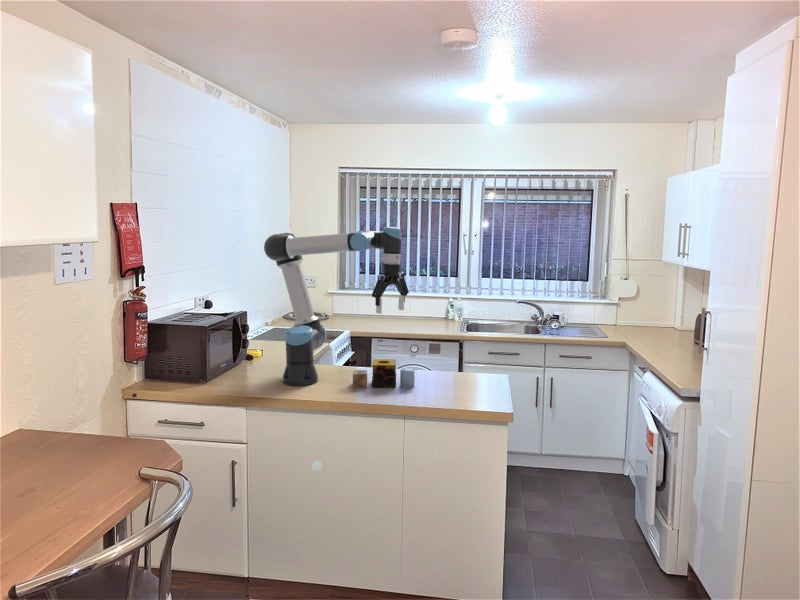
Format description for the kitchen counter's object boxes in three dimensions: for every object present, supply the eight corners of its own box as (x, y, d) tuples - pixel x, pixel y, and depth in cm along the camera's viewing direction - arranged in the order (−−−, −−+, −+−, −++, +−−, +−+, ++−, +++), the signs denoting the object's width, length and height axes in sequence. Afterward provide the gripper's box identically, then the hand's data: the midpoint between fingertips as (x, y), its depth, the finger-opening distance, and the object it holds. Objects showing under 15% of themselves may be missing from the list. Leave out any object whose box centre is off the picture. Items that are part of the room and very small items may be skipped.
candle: (395, 388, 250) (395, 365, 249) (371, 388, 251) (371, 365, 249) (396, 381, 260) (396, 358, 259) (373, 381, 261) (373, 358, 259)
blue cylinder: (399, 387, 251) (399, 371, 250) (401, 383, 257) (401, 367, 255) (413, 388, 250) (413, 372, 249) (415, 384, 256) (415, 368, 255)
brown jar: (352, 388, 251) (352, 374, 250) (353, 383, 257) (353, 370, 256) (367, 387, 251) (367, 374, 250) (367, 383, 257) (367, 370, 256)
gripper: (376, 265, 246) (375, 316, 250) (417, 262, 264) (415, 309, 267) (364, 263, 251) (363, 313, 255) (405, 261, 269) (403, 307, 272)
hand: (390, 311), depth 261 cm, fingers open, 13 cm apart
